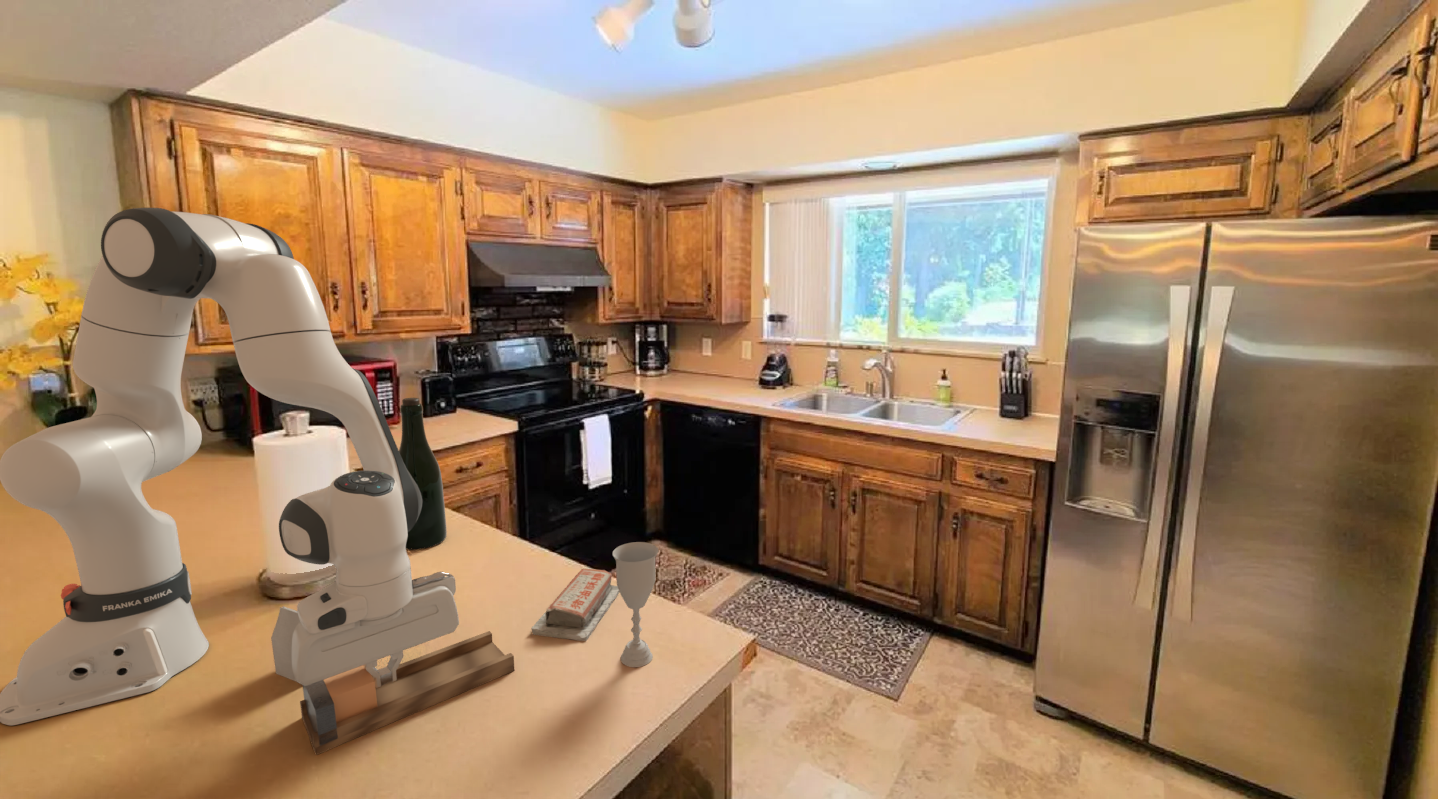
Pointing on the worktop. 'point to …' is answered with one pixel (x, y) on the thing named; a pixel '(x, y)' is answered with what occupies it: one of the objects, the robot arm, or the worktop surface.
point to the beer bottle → (422, 478)
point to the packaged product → (578, 606)
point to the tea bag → (284, 641)
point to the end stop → (320, 709)
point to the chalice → (635, 593)
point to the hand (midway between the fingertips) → (385, 682)
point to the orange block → (352, 692)
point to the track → (422, 687)
